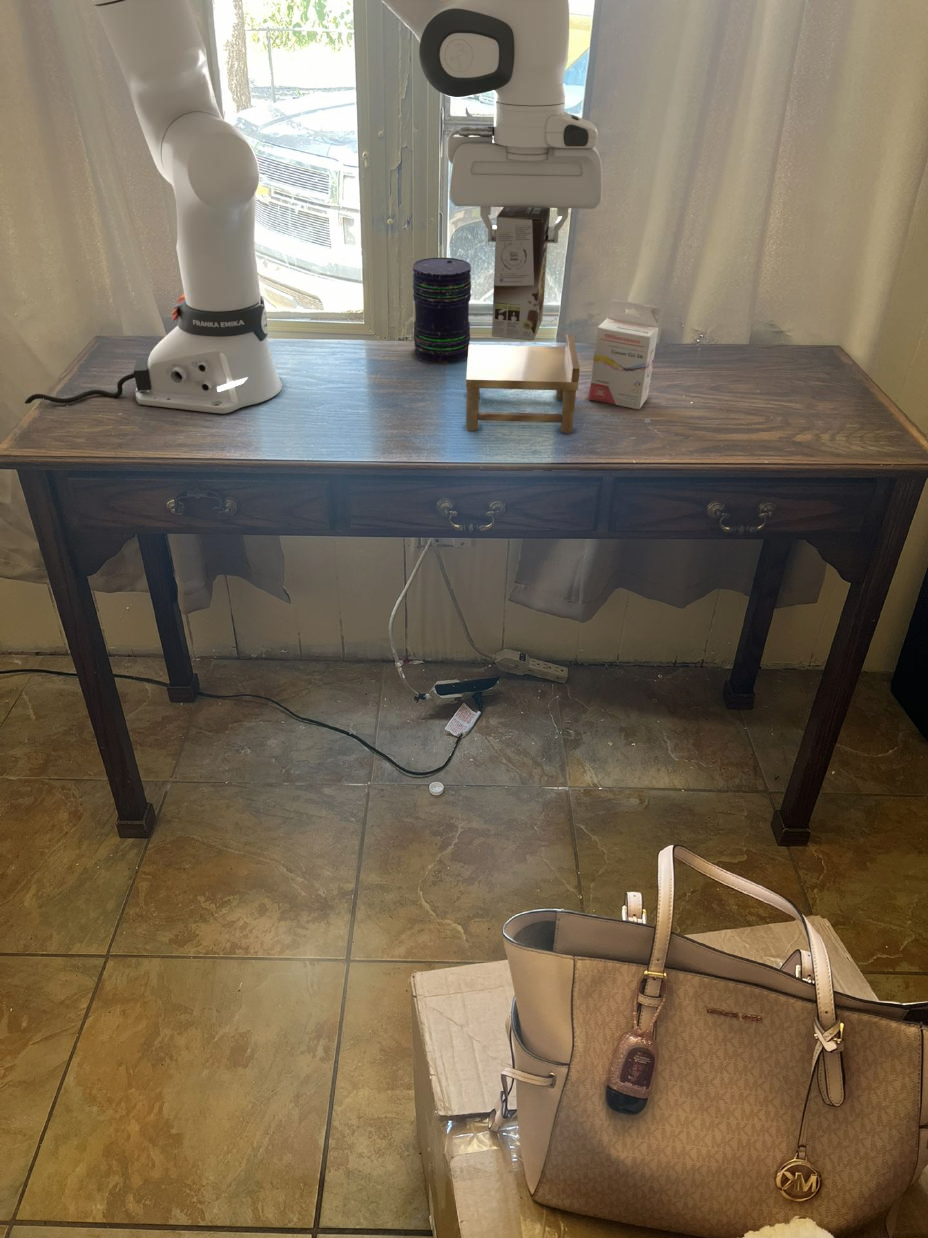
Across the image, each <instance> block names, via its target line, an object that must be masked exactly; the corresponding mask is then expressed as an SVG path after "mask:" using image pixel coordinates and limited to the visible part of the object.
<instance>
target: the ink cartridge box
mask: <svg viewBox="0 0 928 1238" xmlns="http://www.w3.org/2000/svg"><path fill="white" fill-rule="evenodd" d="M607 306H608V307H607V317H606V318H605V319H604V321H602V322H601V323H600V324H599V325H598V326H597V328H596V337H595V343H594V350H593V359H592V369H591V377H590V385H589V394H588V399H589V400H591V401H596V402H601V403H606V404H611V405H615V406H620V407H624V408H629V409H635V410H640V409H641V408H642V407H643V405H644V404H645V402H646V400H647V399H648V397H649V393H650V392H649V391H650V383H651V379H652V373H653V372H652V371H653V366H654V359H655V352H656V347H657V341H658V340H657V339H658V334H659V326H658V325H659V320H660V319H659V318H660V311H661V309H660V307H659V306H657V305H656V306H654V305H649V304H644V303H637V302H632V301H625V300H618V299H615V298H614V299H613V298H611V299H609V301H608V305H607ZM626 310H629V311H631V310H635V311H636V312H640V313H641V315H639V314H634V313H628V312H626Z"/></svg>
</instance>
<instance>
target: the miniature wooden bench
mask: <svg viewBox="0 0 928 1238" xmlns="http://www.w3.org/2000/svg"><path fill="white" fill-rule="evenodd" d="M579 363H580V362H579V358H578V354H577V347H576V343H575V338H574V334H573V333H566V336H565V346H551V345H550V346H549V345H548V346H546V345H544V346H543V345H510V344H509V345H505V344H469V346H468V358H467V359H466V374H465V375H466V376H465V388H466V403H465V404H466V408H465V410H466V411H465V412H466V413H465V420H466V421H465V429H466V430H467V431H469V432H476V431H478V430H479V422H510V423H511V422H514V423H518V422H519V423H549V424H550V423H555V424H556V423H557V424H559V423H560V427H559V428H560V429H559V430H560V433H562V434H571V433H573V428H574V417H575V409H576V399H577V391H579V382H580V381H579V380H580V370H581V368H580V364H579ZM481 389H490V390H491V389H492V390H493V389H495V390H532V391H556V392H555V399H556V400H558V401H562V406H561V413H537V412H536V413H534V412H504V411H503V412H499V411H497V412H495V411H480V410H479V409H480V407H479V405H480V395H481V394H480V392H481V391H480V390H481Z"/></svg>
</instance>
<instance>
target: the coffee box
mask: <svg viewBox="0 0 928 1238" xmlns="http://www.w3.org/2000/svg"><path fill="white" fill-rule="evenodd" d="M550 216H551V208H528V207H502V209H501V210H500V212H499V213H498V214H497V216H496V223H495V224H496V225H495V226H496V242H495V246H494V247H495V249H494V270H493V271H494V273H493V295H492V298H493V299H492V318H491V319H492V320H491V337H492V338H501V339H513V340H522V341H531V342H532V341H535V339H536V337H537V334H538V332H539V329H540V327H541V325H542V322H543V317H544V305H545V291H546V289H545V288H546V273H547V259H548V246H549V243H547V227H550V218H551V217H550Z"/></svg>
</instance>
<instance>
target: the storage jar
mask: <svg viewBox="0 0 928 1238" xmlns="http://www.w3.org/2000/svg"><path fill="white" fill-rule="evenodd" d="M412 272H413V273H412V290H413V291H412V292H413V293H412V297H413V301H414V322H413V341H414V343H413V345H414V356H415V358H416V359H418V360H420V361H421V362H425V363H429V364H435V365H436V364H437V365H450V364H451V365H452V364H457V363H461V362H463V361H465V360H467V359H468V346H469V345H470V342H471V331H470V330H471V322H470V320H469V319H470V318H469V315H470V301H471V297H472V294H471V290H472V280H471V279H472V275H471V272H472V265H471V263H469V262H468V261H467V260H464V259H459V258H455V257H442V256H441V257H428V258H423V259H419V260H417V261H415V262H413V264H412Z"/></svg>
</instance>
